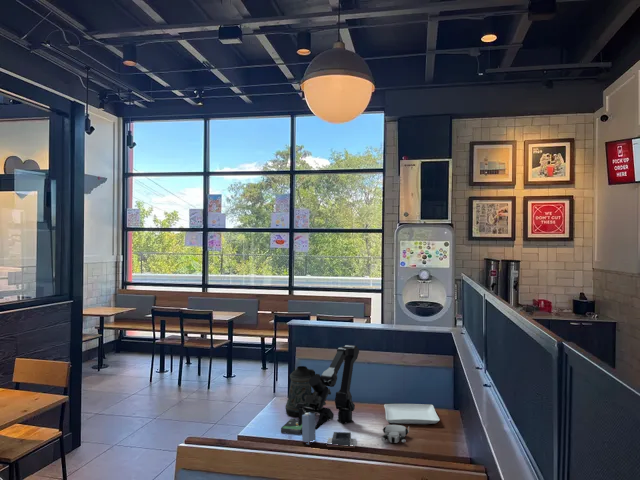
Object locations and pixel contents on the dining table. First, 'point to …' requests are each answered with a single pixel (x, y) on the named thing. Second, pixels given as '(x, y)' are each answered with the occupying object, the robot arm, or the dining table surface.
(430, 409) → the square plate
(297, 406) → the robot arm
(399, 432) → the robot toy
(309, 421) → the light blue tall block
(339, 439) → the frame
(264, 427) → the dining table surface
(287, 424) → the disk drive
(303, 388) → the beer stein
